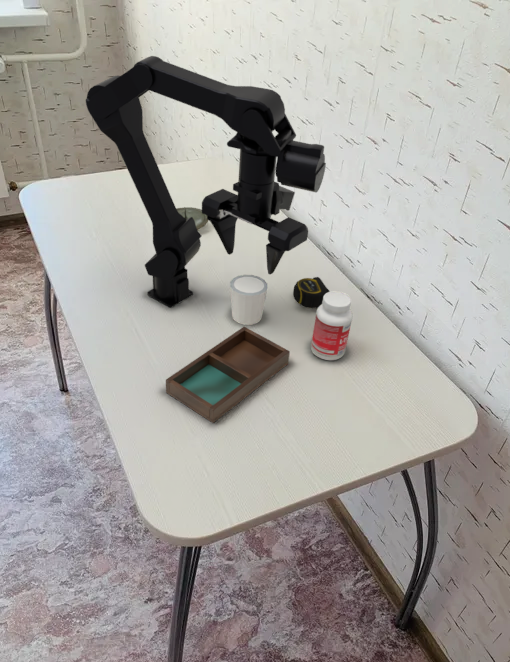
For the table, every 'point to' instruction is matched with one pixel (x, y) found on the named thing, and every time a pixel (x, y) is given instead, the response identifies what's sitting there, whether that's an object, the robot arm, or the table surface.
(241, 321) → the white cup
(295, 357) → the table surface
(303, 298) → the tape measure
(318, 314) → the pill bottle
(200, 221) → the grey green bowl
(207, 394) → the holder
